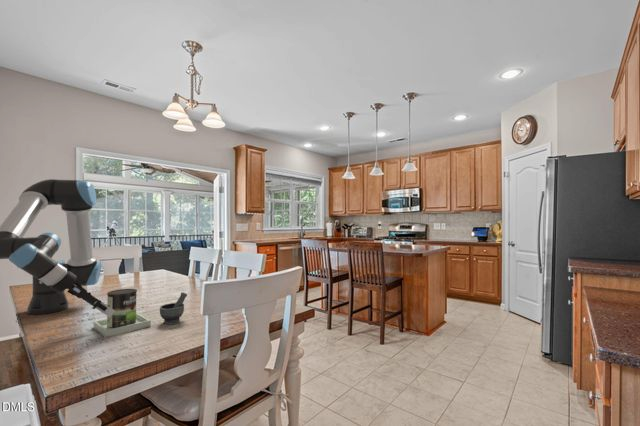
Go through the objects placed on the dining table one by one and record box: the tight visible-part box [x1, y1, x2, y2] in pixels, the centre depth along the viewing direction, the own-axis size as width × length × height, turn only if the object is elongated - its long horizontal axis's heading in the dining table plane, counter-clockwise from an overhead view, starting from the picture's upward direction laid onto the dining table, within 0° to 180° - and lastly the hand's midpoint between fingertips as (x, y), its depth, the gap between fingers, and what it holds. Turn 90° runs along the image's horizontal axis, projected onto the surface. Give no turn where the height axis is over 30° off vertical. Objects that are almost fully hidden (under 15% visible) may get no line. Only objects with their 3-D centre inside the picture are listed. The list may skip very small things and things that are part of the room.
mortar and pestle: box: [159, 292, 188, 325], centre depth 134 cm, size 11×9×12 cm
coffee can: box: [106, 288, 138, 329], centre depth 127 cm, size 10×10×14 cm
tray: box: [93, 312, 152, 338], centre depth 127 cm, size 16×16×2 cm
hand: (106, 310), depth 123 cm, fingers open, 13 cm apart
